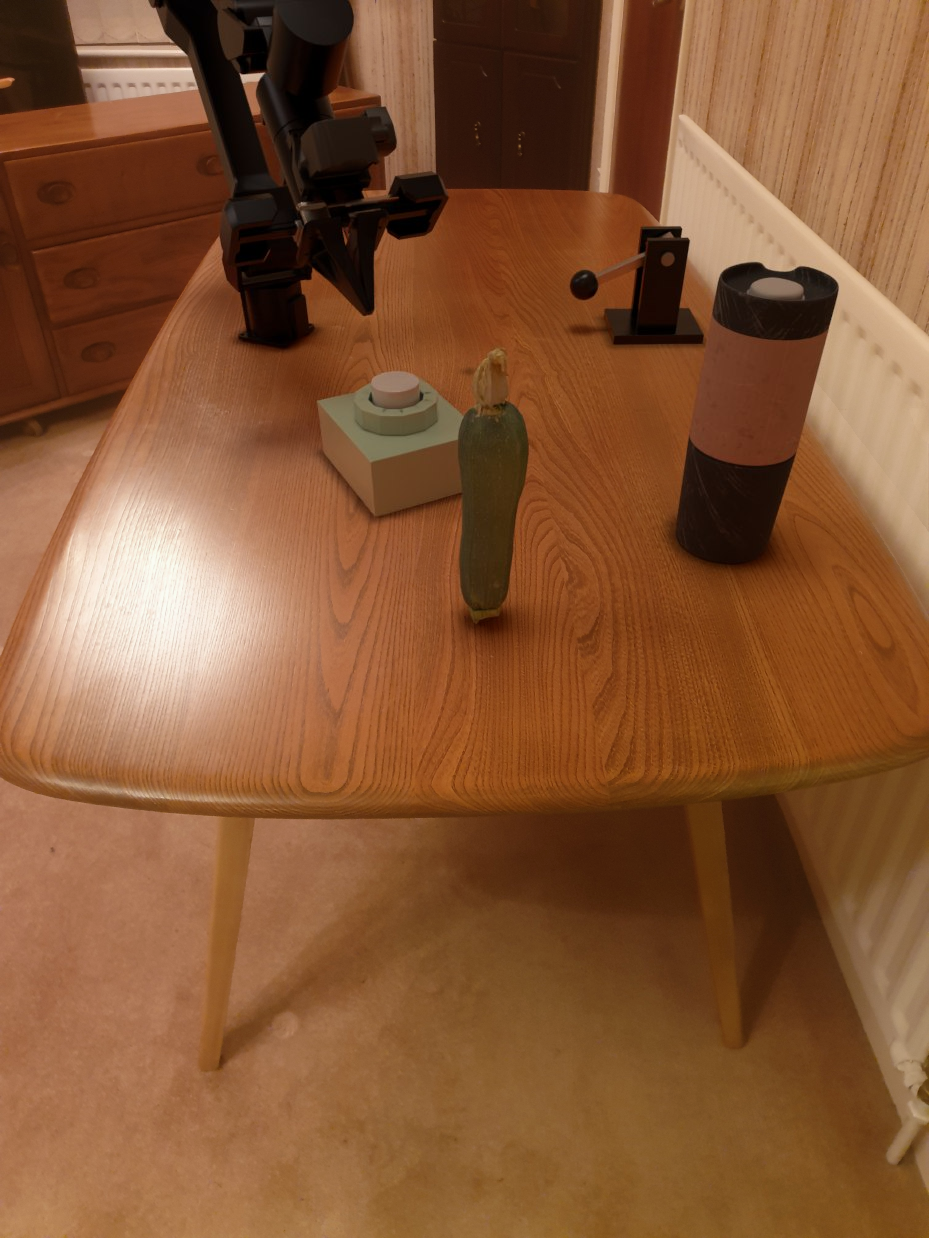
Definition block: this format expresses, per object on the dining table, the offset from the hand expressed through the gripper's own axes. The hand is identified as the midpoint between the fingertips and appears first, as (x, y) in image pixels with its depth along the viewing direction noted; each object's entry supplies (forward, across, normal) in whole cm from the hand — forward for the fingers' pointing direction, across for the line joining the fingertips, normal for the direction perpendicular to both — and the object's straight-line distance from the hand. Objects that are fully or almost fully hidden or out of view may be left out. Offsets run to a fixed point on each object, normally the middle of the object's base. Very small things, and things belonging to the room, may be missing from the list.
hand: (369, 313), depth 72 cm
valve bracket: (+2, +38, +16) cm, 42 cm away
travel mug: (+28, +18, -9) cm, 34 cm away
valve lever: (-3, +35, +13) cm, 38 cm away
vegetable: (+27, -3, -9) cm, 29 cm away
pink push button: (+7, 0, +1) cm, 7 cm away
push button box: (+12, 0, +6) cm, 13 cm away
